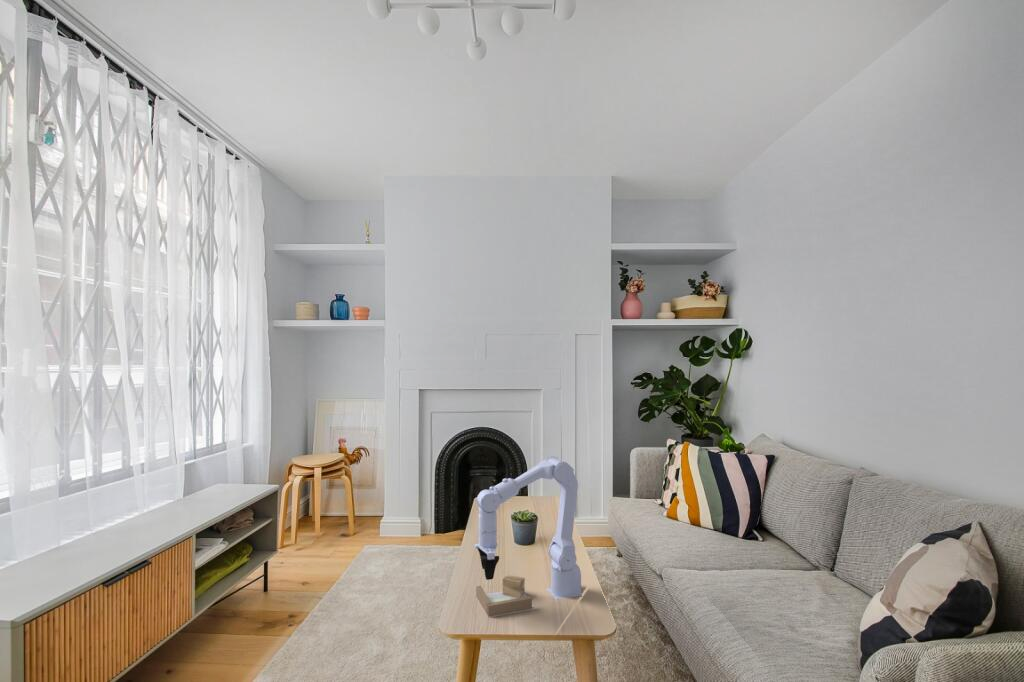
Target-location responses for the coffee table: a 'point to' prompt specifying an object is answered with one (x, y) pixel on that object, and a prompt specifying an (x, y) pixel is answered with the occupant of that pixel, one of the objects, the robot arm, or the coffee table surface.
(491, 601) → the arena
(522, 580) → the oak block
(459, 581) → the coffee table surface
